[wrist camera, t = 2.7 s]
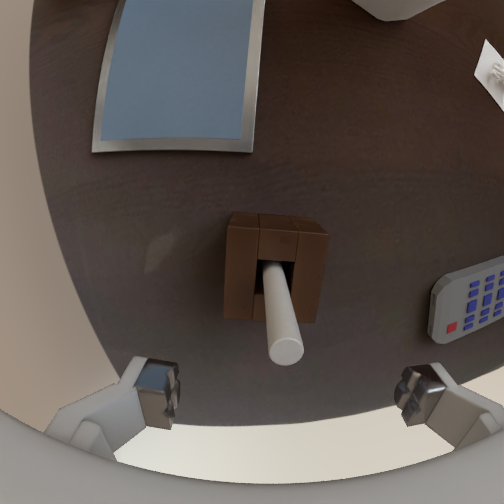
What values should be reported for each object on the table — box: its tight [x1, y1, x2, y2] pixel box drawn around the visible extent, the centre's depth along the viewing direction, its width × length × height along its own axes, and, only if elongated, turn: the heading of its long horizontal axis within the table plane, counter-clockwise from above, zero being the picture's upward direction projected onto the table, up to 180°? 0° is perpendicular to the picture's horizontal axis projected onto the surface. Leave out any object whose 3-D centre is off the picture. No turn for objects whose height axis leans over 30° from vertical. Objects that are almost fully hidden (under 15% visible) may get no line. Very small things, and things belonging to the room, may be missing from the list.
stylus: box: [262, 260, 304, 365], centre depth 18 cm, size 1×1×14 cm
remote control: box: [427, 255, 504, 344], centre depth 24 cm, size 8×23×2 cm, turn 101°
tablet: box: [92, 0, 265, 153], centre depth 19 cm, size 14×20×1 cm
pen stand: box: [223, 212, 329, 323], centre depth 21 cm, size 6×6×6 cm
